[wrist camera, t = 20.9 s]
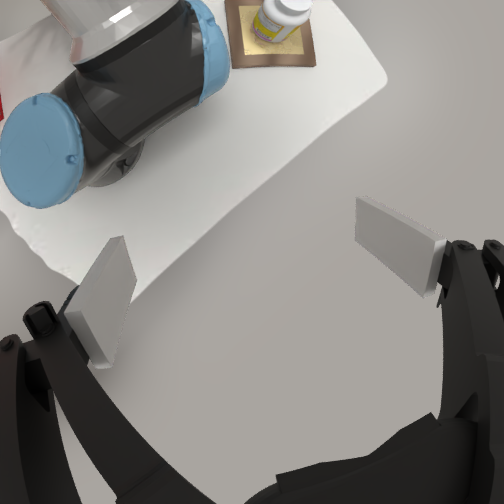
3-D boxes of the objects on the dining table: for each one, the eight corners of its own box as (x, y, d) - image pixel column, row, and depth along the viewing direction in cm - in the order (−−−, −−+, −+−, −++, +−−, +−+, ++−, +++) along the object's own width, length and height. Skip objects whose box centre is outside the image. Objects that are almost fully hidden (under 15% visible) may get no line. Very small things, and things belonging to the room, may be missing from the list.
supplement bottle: (288, 12, 33) (317, -18, 21) (292, 44, 35) (324, 19, 24) (249, 11, 32) (267, -24, 20) (252, 43, 35) (273, 15, 23)
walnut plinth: (232, 68, 37) (233, 66, 36) (224, 1, 31) (225, -3, 30) (312, 66, 39) (316, 65, 38) (302, 2, 33) (305, -1, 32)
